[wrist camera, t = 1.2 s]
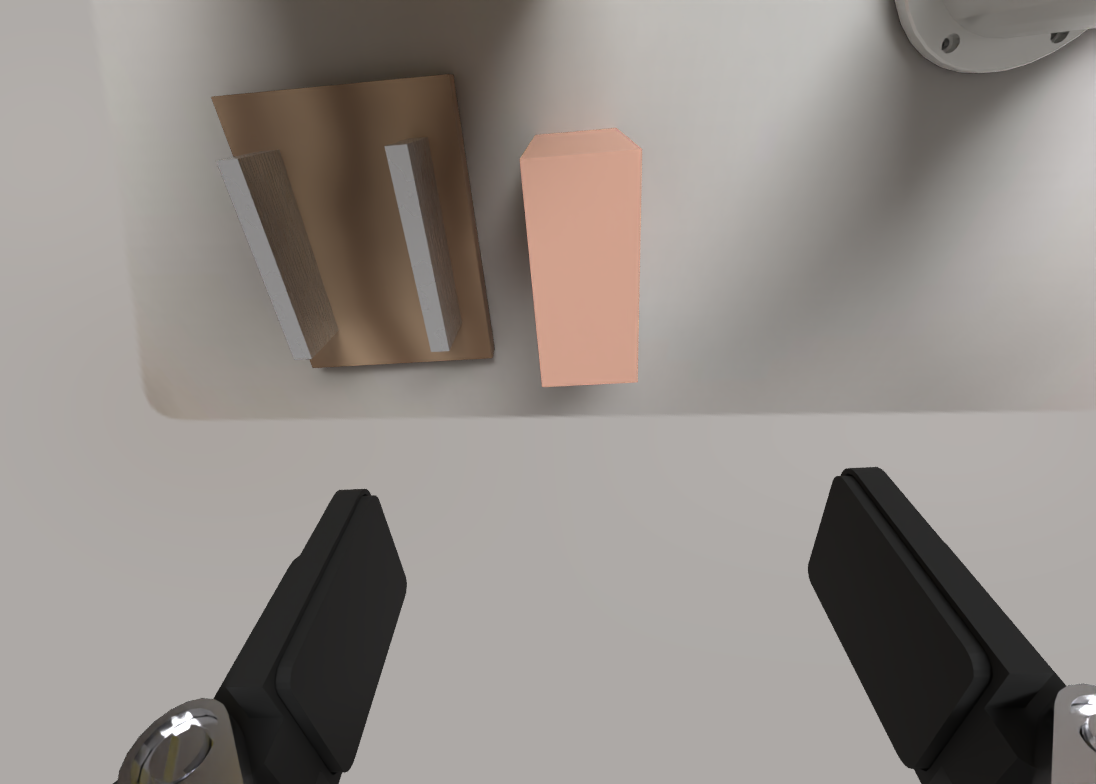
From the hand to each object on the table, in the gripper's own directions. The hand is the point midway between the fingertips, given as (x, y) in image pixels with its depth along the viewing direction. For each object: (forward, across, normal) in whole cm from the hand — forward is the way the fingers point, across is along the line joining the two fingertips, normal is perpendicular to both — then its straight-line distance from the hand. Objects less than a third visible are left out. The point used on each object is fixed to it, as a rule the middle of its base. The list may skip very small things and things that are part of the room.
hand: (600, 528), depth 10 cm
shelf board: (+27, +14, 0) cm, 30 cm away
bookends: (+25, +14, 0) cm, 29 cm away
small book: (+27, 0, 0) cm, 27 cm away
